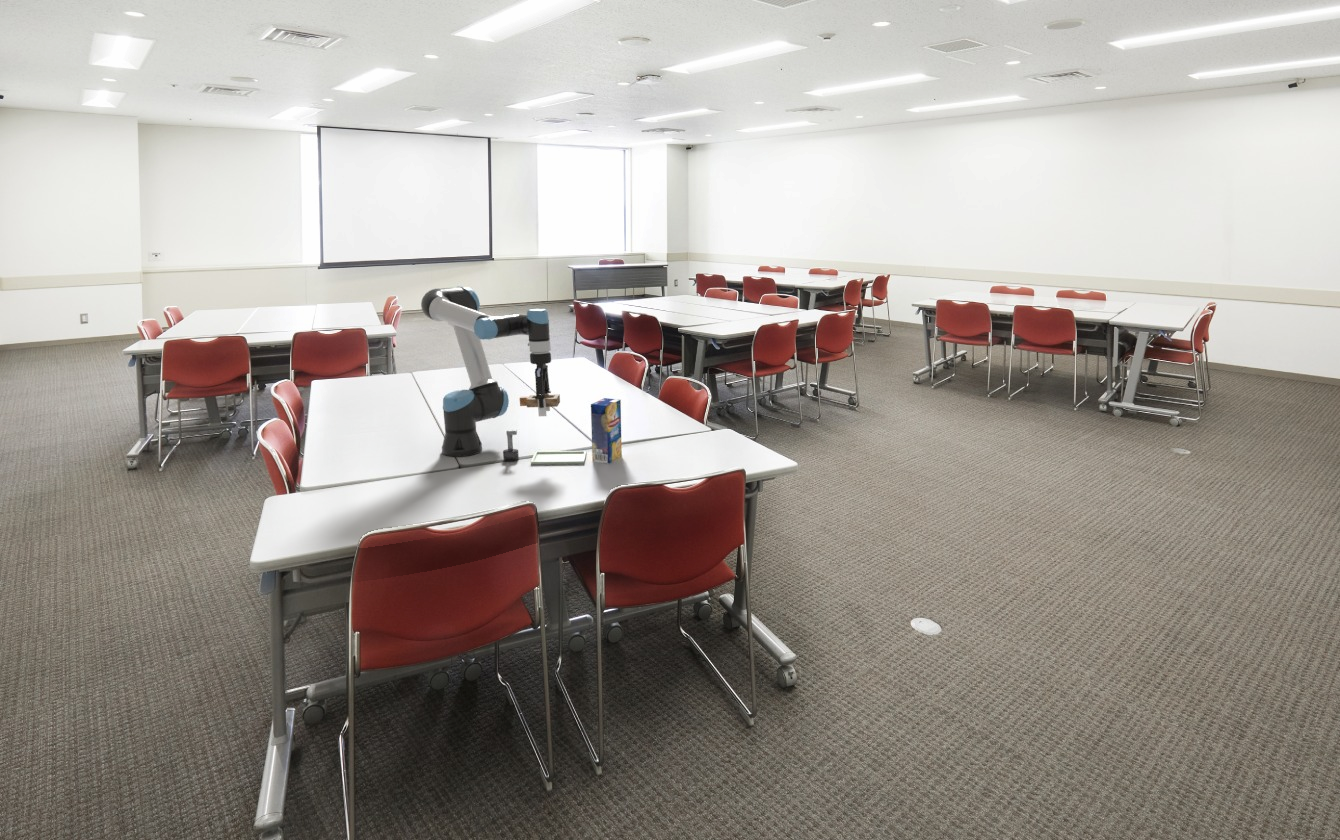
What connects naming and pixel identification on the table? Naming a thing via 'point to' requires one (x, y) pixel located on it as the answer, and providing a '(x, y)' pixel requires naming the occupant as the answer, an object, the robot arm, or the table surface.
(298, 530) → the table surface
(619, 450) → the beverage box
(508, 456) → the gray post stand
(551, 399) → the wooden rectangular frame
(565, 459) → the tray
